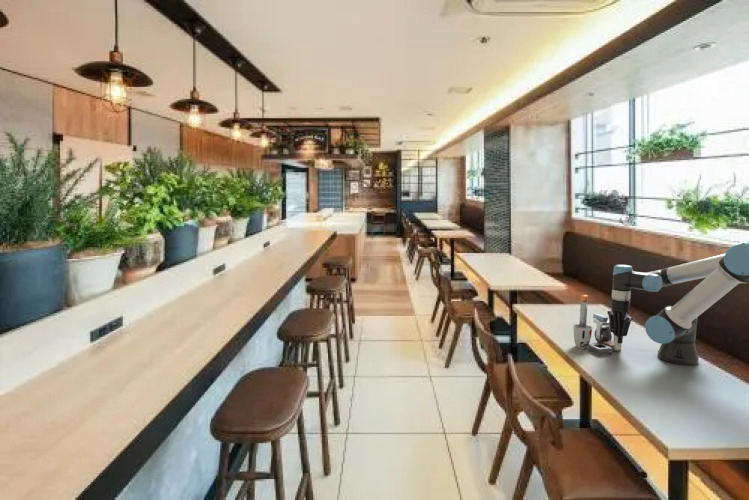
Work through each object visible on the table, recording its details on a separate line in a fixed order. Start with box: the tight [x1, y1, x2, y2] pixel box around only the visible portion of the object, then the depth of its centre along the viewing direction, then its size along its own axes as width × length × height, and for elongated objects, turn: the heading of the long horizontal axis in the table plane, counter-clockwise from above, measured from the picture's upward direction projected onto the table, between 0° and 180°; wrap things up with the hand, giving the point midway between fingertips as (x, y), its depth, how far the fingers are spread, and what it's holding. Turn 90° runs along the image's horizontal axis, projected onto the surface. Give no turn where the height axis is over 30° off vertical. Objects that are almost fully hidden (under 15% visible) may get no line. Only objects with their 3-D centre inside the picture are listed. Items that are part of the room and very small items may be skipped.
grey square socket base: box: [587, 342, 613, 357], centre depth 216 cm, size 7×7×3 cm
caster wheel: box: [592, 313, 613, 343], centre depth 228 cm, size 10×7×13 cm
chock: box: [602, 340, 622, 353], centre depth 220 cm, size 5×6×4 cm
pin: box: [579, 294, 589, 328], centre depth 221 cm, size 3×3×15 cm
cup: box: [573, 323, 593, 350], centre depth 223 cm, size 8×8×10 cm
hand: (617, 349), depth 216 cm, fingers closed
